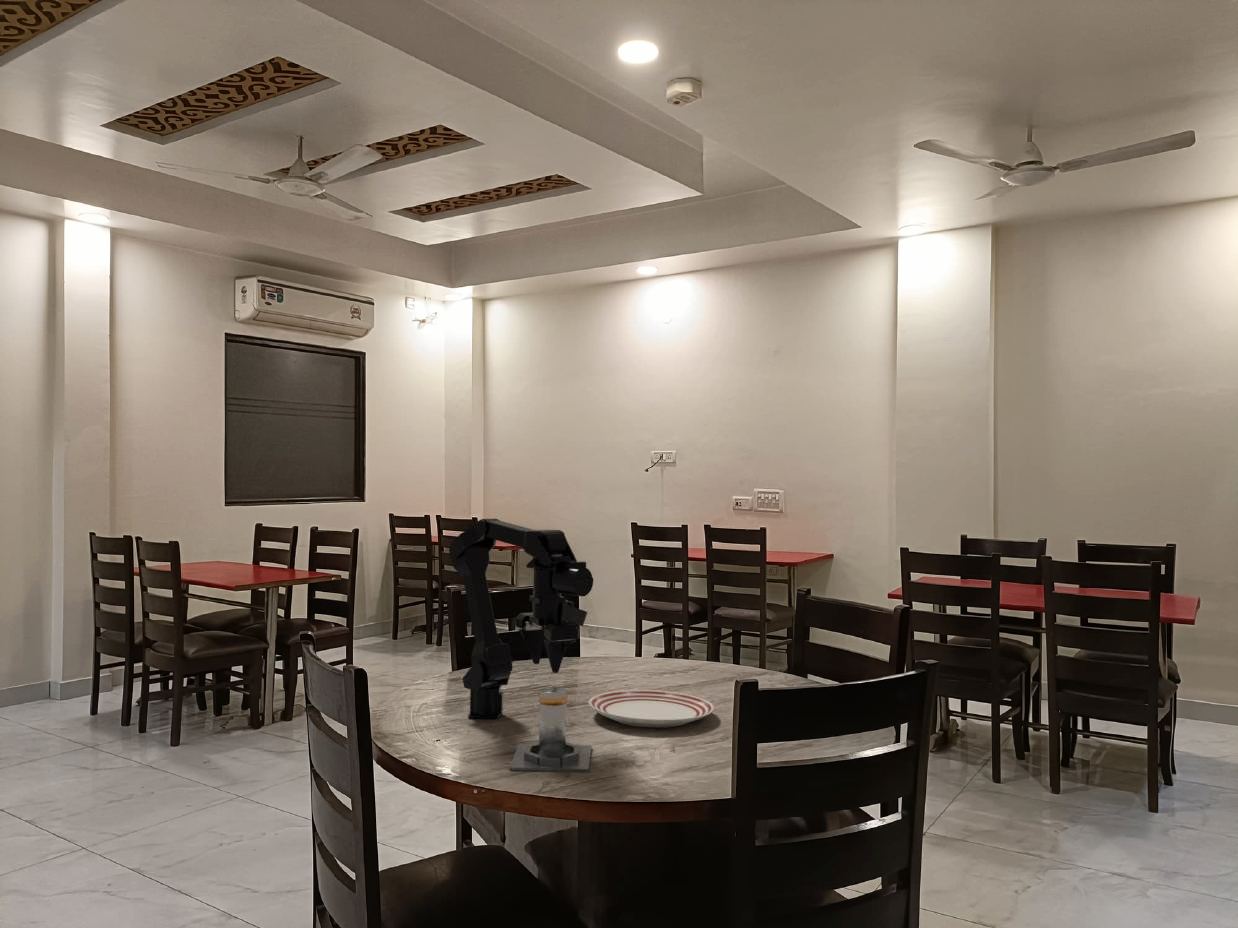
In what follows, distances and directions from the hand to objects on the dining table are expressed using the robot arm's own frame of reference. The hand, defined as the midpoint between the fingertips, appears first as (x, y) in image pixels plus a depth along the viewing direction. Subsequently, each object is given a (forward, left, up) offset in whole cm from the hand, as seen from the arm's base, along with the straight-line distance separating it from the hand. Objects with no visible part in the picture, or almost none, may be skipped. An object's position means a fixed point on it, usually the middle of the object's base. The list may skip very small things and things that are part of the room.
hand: (545, 668), depth 184 cm
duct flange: (+3, -17, -13) cm, 22 cm away
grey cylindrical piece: (+3, -17, -12) cm, 21 cm away
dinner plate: (+22, +14, -14) cm, 29 cm away
